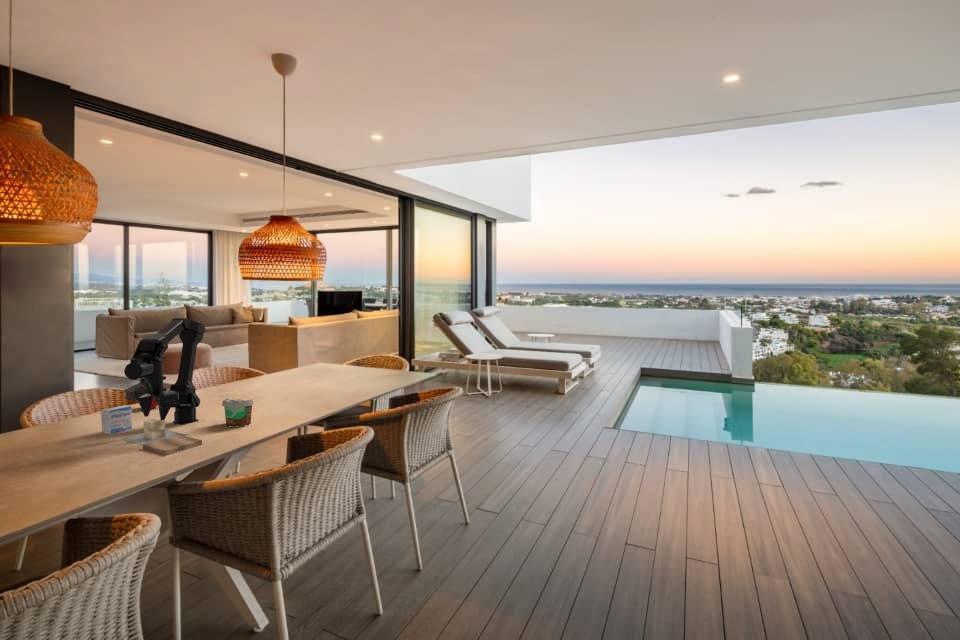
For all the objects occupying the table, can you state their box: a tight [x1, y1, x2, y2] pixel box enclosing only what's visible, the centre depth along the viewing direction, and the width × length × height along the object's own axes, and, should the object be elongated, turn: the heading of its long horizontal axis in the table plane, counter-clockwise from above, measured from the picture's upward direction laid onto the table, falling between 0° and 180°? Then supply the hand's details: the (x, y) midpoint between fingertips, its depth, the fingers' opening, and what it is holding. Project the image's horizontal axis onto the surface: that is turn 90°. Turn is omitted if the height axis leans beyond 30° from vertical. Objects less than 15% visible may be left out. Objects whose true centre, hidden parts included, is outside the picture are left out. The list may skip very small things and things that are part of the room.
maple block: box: [143, 417, 166, 440], centre depth 169 cm, size 4×4×6 cm
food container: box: [221, 396, 255, 428], centre depth 185 cm, size 12×6×10 cm, turn 76°
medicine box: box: [100, 404, 133, 435], centre depth 175 cm, size 8×4×9 cm, turn 161°
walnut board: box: [142, 435, 203, 456], centre depth 160 cm, size 12×12×2 cm
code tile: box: [120, 429, 189, 446], centre depth 169 cm, size 14×16×1 cm
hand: (154, 418), depth 169 cm, fingers open, 9 cm apart
